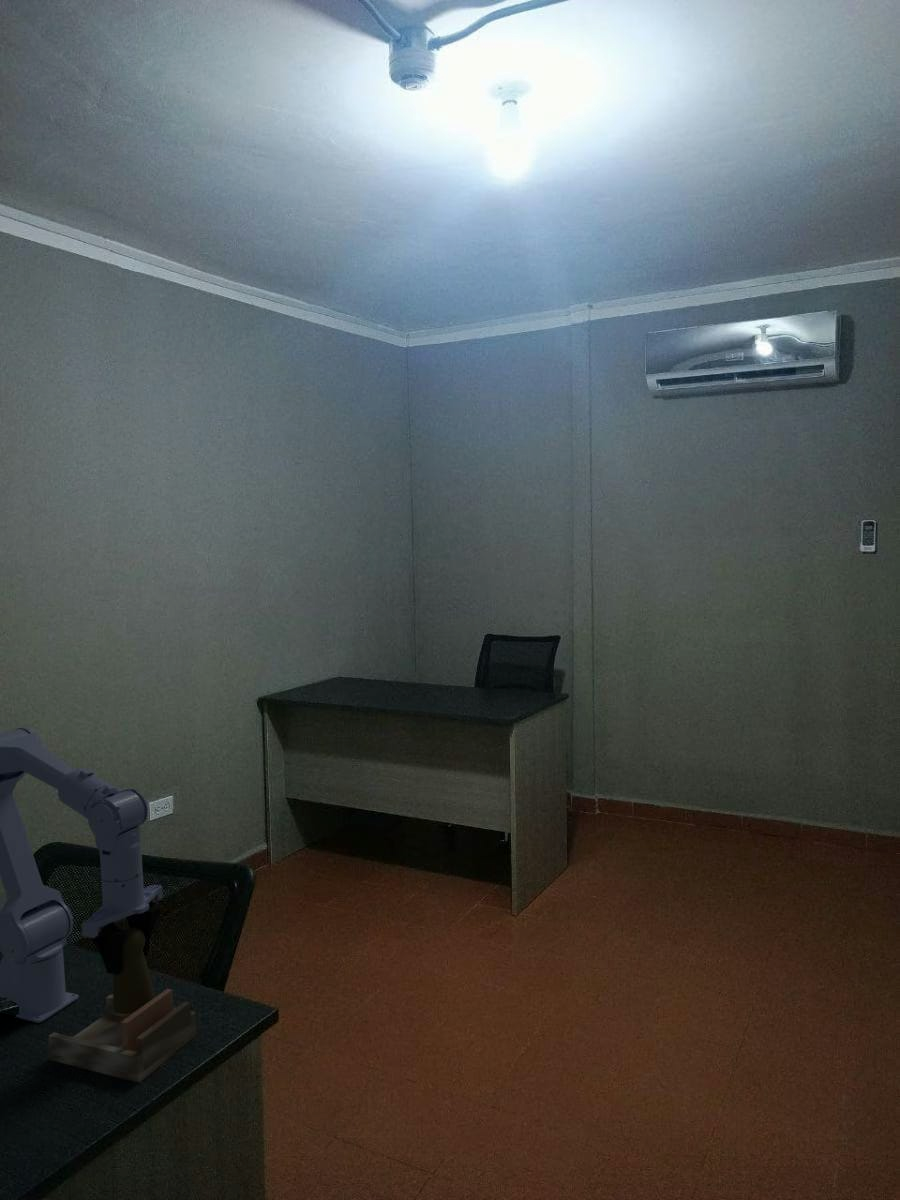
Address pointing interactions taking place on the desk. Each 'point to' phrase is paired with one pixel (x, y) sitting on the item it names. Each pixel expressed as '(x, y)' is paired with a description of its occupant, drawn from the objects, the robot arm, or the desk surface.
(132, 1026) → the lane pusher
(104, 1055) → the wooden tray
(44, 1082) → the desk surface
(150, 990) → the brown tapered rounded cylinder
